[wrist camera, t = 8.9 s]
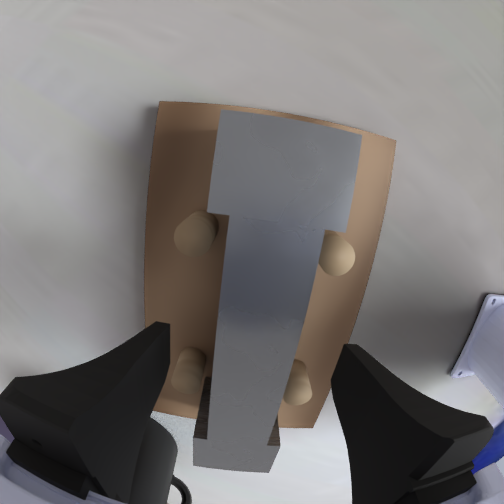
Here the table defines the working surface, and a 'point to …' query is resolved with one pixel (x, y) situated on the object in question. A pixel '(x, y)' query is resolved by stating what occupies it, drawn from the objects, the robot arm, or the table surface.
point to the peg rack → (213, 252)
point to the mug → (156, 468)
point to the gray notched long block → (266, 272)
